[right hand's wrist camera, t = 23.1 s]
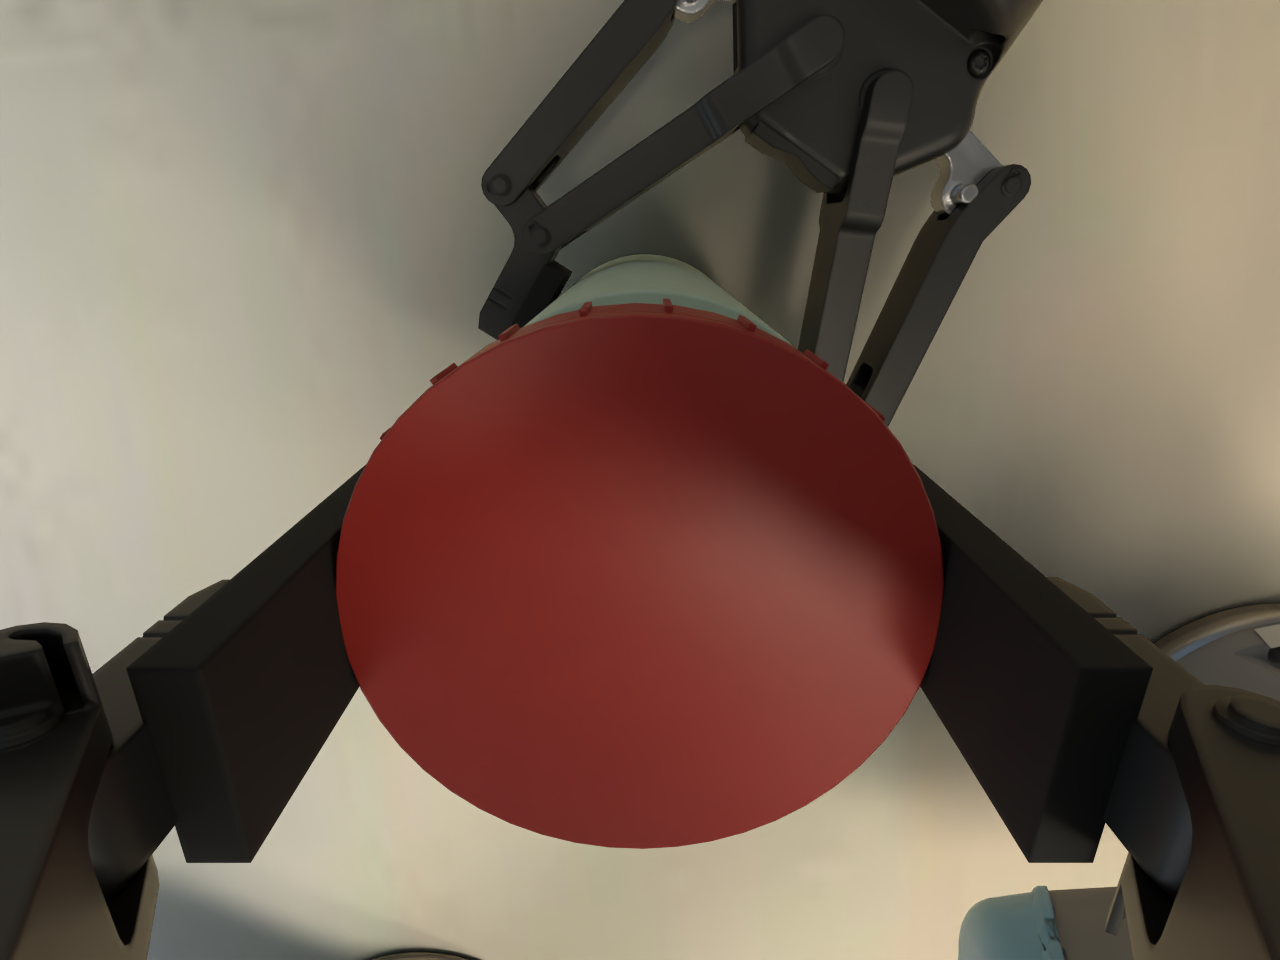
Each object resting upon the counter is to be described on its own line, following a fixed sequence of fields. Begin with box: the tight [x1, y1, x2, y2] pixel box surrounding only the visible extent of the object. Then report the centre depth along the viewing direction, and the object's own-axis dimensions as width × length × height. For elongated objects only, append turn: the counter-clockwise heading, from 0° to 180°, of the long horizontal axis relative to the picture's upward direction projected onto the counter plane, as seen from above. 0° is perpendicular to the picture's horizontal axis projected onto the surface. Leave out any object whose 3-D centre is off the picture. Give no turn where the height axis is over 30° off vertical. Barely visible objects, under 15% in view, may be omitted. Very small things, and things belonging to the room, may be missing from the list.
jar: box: [524, 254, 792, 346], centre depth 22 cm, size 9×9×18 cm
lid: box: [335, 298, 944, 849], centre depth 11 cm, size 9×9×2 cm
